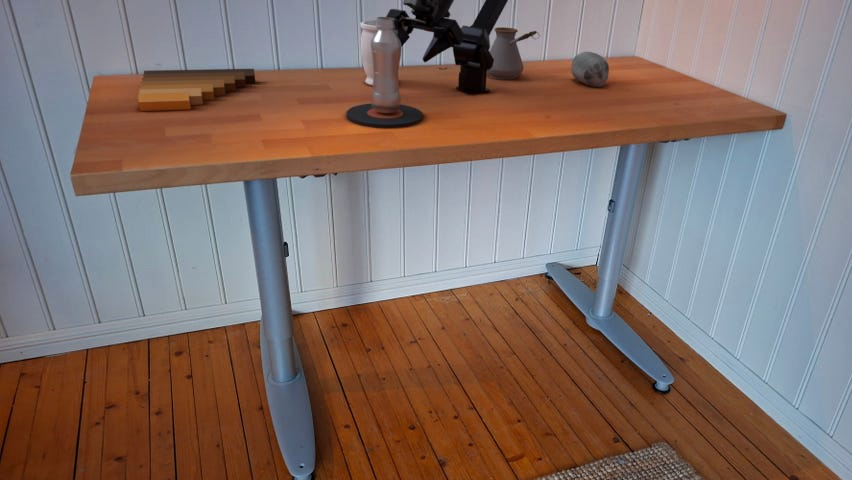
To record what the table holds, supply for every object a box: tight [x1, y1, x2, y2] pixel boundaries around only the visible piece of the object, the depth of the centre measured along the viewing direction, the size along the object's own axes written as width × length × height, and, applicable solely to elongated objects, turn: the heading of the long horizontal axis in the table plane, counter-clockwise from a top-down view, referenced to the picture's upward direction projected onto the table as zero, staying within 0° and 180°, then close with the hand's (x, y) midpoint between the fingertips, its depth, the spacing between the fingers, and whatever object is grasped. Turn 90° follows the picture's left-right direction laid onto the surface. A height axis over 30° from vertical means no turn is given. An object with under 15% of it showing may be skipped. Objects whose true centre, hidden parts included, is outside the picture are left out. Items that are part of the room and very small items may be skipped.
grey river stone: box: [570, 51, 610, 88], centre depth 191 cm, size 14×10×10 cm
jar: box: [359, 19, 402, 87], centre depth 175 cm, size 11×10×15 cm
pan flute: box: [137, 68, 256, 112], centre depth 158 cm, size 25×3×25 cm
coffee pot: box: [487, 26, 541, 80], centre depth 186 cm, size 21×12×15 cm, turn 28°
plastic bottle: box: [370, 16, 402, 113], centre depth 147 cm, size 6×7×20 cm
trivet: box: [346, 102, 424, 129], centre depth 152 cm, size 17×17×1 cm
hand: (407, 57), depth 152 cm, fingers open, 9 cm apart
